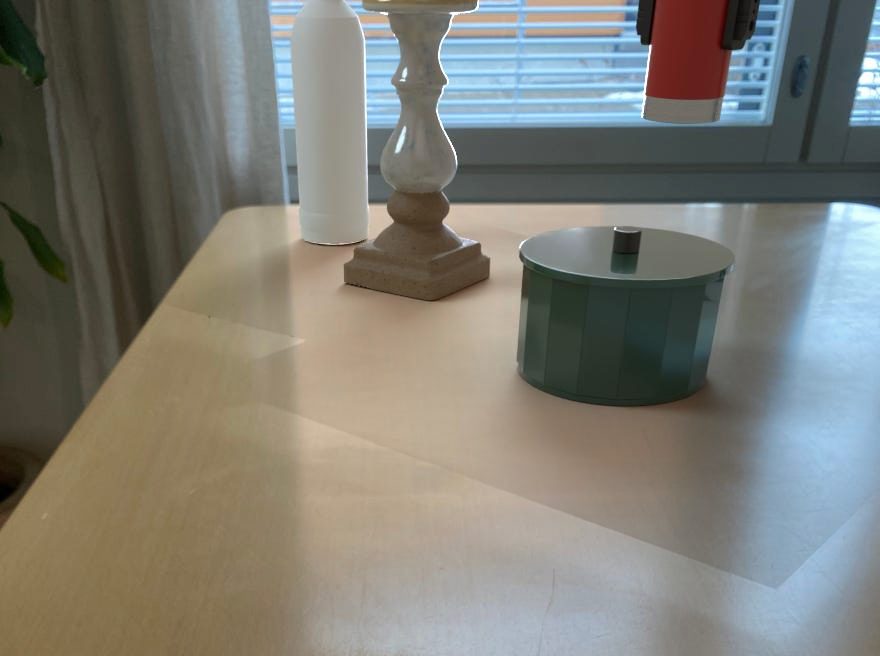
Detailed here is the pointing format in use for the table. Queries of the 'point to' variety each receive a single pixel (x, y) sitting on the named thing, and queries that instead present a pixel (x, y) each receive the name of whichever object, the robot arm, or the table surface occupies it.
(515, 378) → the table surface
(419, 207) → the candle holder
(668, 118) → the can
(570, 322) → the pot
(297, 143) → the bottle
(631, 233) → the pot lid
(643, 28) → the robot arm
